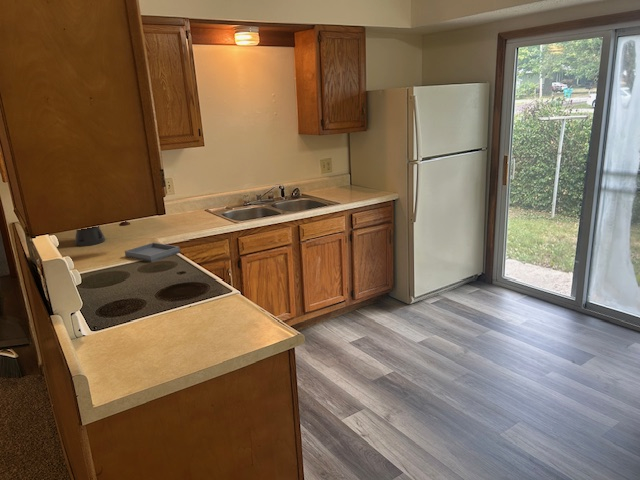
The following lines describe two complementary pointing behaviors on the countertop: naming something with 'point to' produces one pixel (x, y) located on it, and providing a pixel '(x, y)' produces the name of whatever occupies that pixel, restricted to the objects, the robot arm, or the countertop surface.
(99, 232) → the robot arm
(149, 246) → the serving tray
